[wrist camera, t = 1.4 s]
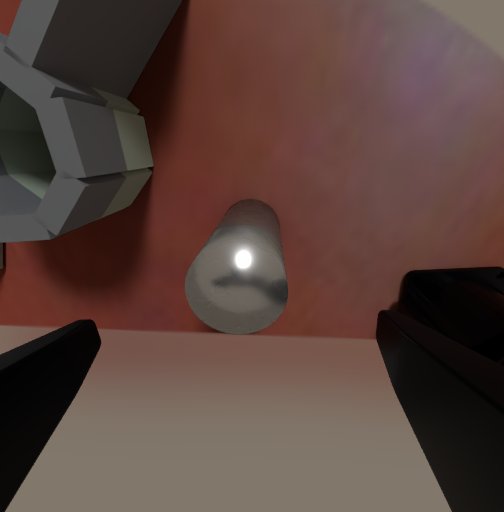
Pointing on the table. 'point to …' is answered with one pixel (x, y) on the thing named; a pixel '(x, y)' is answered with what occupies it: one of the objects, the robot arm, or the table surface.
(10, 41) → the grey hollow faceted fixture
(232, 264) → the pin
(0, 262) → the flask
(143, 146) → the pale green bracket
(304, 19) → the table surface
